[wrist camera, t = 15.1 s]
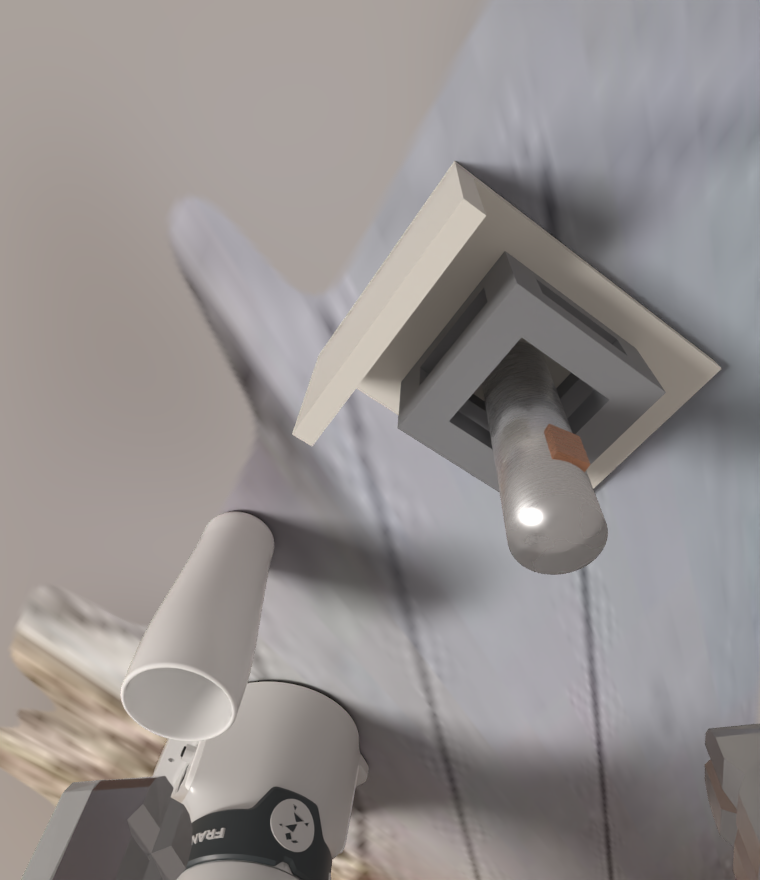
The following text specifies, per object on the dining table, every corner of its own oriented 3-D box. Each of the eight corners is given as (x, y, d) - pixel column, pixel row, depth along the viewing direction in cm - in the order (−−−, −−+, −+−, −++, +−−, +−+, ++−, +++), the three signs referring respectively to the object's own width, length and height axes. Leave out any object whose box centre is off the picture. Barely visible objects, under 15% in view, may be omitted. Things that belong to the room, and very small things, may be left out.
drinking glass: (221, 484, 48) (148, 645, 36) (302, 529, 50) (260, 699, 37) (180, 543, 52) (99, 711, 39) (258, 584, 53) (204, 758, 40)
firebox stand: (558, 508, 48) (587, 611, 39) (318, 354, 43) (292, 434, 34) (714, 360, 42) (789, 444, 33) (454, 160, 37) (463, 198, 28)
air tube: (526, 410, 43) (574, 586, 29) (469, 386, 42) (490, 555, 28) (561, 352, 41) (631, 513, 27) (502, 326, 40) (542, 477, 26)
